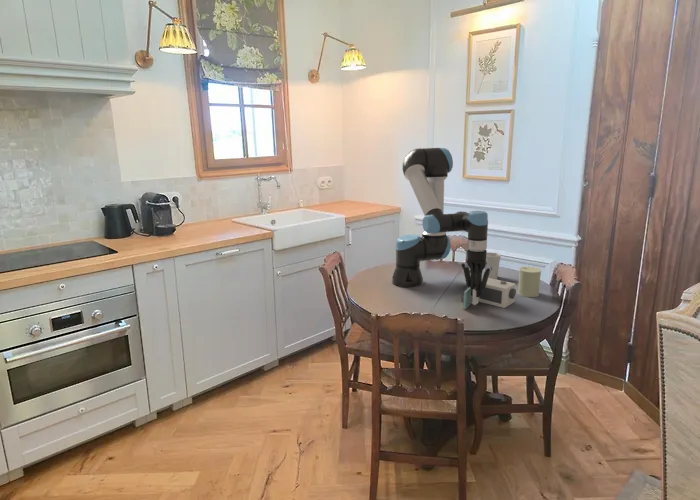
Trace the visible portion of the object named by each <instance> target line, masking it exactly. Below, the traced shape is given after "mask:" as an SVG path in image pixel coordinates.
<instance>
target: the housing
mask: <svg viewBox="0 0 700 500" xmlns="http://www.w3.org/2000/svg"><path fill="white" fill-rule="evenodd" d="M482 279H483V277H482ZM475 288H476V287H475ZM516 294H517V290H516V283H514V282H509V281H506V280H500V279H498V278H497V279H492V278H488V280H487V283H486V287H485V288H484V289H482V290H481V295H480V297H479V301H478V303H479V302H480V303H483V304H486V305H492V306H495V307H500V308H503V309H505V308H506V307H507V308H508V307H509V306H510V305H513V304H514V303H515V297H516Z"/></svg>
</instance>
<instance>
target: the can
mask: <svg viewBox="0 0 700 500" xmlns="http://www.w3.org/2000/svg"><path fill="white" fill-rule="evenodd" d="M518 272H519V273H518V286H517V295H520V296H522V297H527V298H537V297H539V295H540V285H541V273H542V270H541V268H539V267H535V266H522V267H519V271H518Z"/></svg>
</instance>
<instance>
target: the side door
mask: <svg viewBox="0 0 700 500" xmlns="http://www.w3.org/2000/svg"><path fill="white" fill-rule="evenodd" d="M472 298H473V296H471V288H470V287H469V288H468V287H467V288H466V289H465V290H464V291H463V295H462V296H461V300H460V301H461V302H460V303H462V304H463V306H462V307H463V308H462V309H463V310H466V309H468V307H469V306H470V305H471V304H472Z"/></svg>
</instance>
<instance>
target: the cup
mask: <svg viewBox="0 0 700 500" xmlns="http://www.w3.org/2000/svg"><path fill="white" fill-rule="evenodd" d="M486 262H487V266H489V267H491V268H492V270H491V272H490V273H489V277H488V278H492V279H497V280H498V277H499V268H500V262H501V253H498V252H487V256H486Z"/></svg>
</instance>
